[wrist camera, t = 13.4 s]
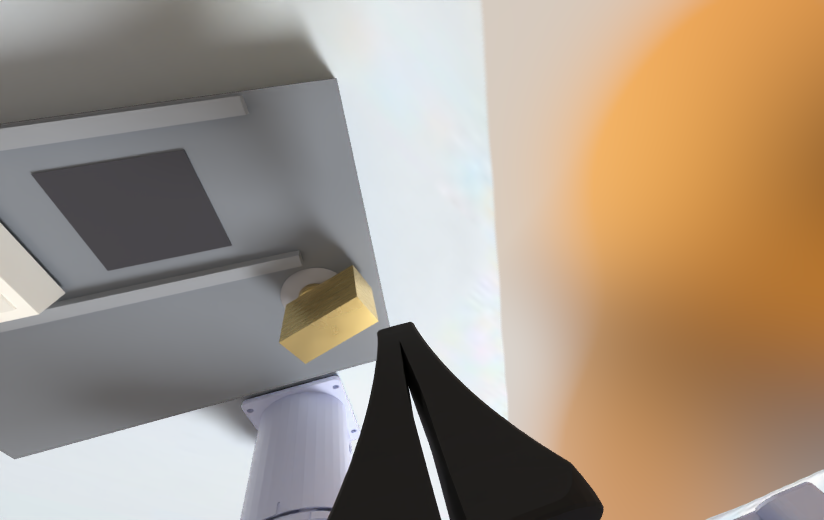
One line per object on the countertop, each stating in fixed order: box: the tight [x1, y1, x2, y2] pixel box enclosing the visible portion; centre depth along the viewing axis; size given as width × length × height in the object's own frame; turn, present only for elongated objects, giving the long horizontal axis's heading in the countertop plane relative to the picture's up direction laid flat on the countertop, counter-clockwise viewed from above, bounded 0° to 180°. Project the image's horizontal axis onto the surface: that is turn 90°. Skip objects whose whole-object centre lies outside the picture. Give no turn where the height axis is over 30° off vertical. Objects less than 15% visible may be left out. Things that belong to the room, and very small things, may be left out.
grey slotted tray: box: [0, 78, 390, 459], centre depth 17 cm, size 18×25×4 cm
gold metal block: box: [279, 265, 378, 364], centre depth 17 cm, size 4×2×4 cm, turn 118°
